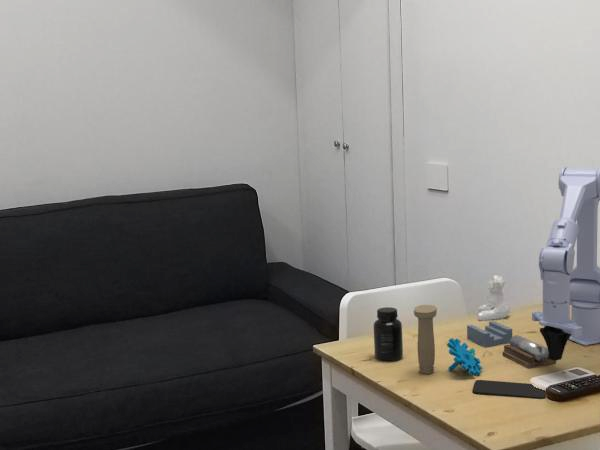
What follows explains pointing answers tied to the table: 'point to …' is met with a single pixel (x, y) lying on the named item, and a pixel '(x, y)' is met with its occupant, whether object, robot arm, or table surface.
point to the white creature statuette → (494, 302)
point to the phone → (507, 389)
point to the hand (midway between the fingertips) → (555, 359)
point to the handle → (426, 337)
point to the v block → (490, 334)
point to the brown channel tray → (524, 357)
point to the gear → (463, 357)
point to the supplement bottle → (388, 335)
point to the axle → (530, 347)
